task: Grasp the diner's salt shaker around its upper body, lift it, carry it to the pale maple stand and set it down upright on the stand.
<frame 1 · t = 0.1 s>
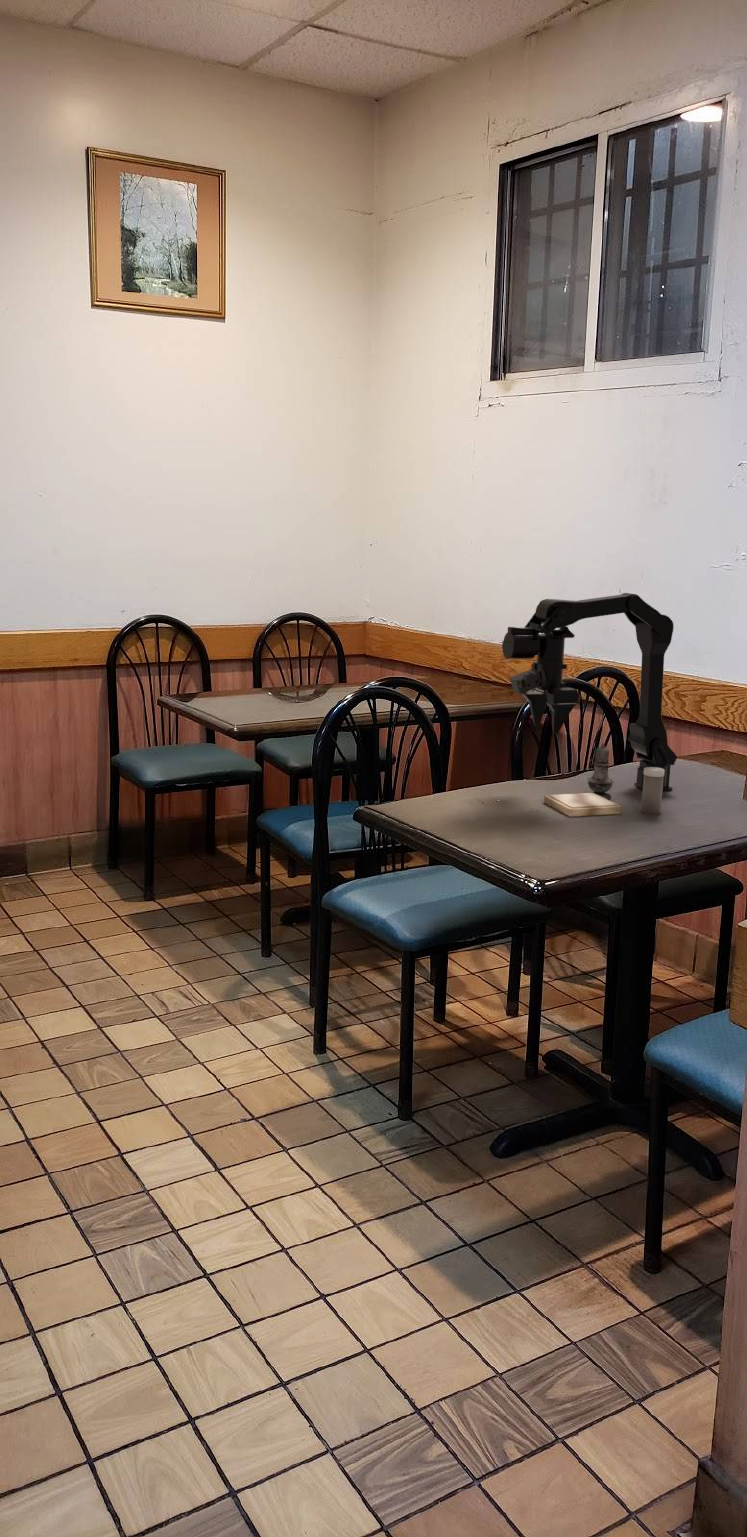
hand: (546, 729, 259), 15 cm above the table, fingers open, 9 cm apart
maple stand: (582, 807, 251), on the table
salt shaker: (599, 796, 262), on the table
pepper shaker: (650, 811, 249), on the table
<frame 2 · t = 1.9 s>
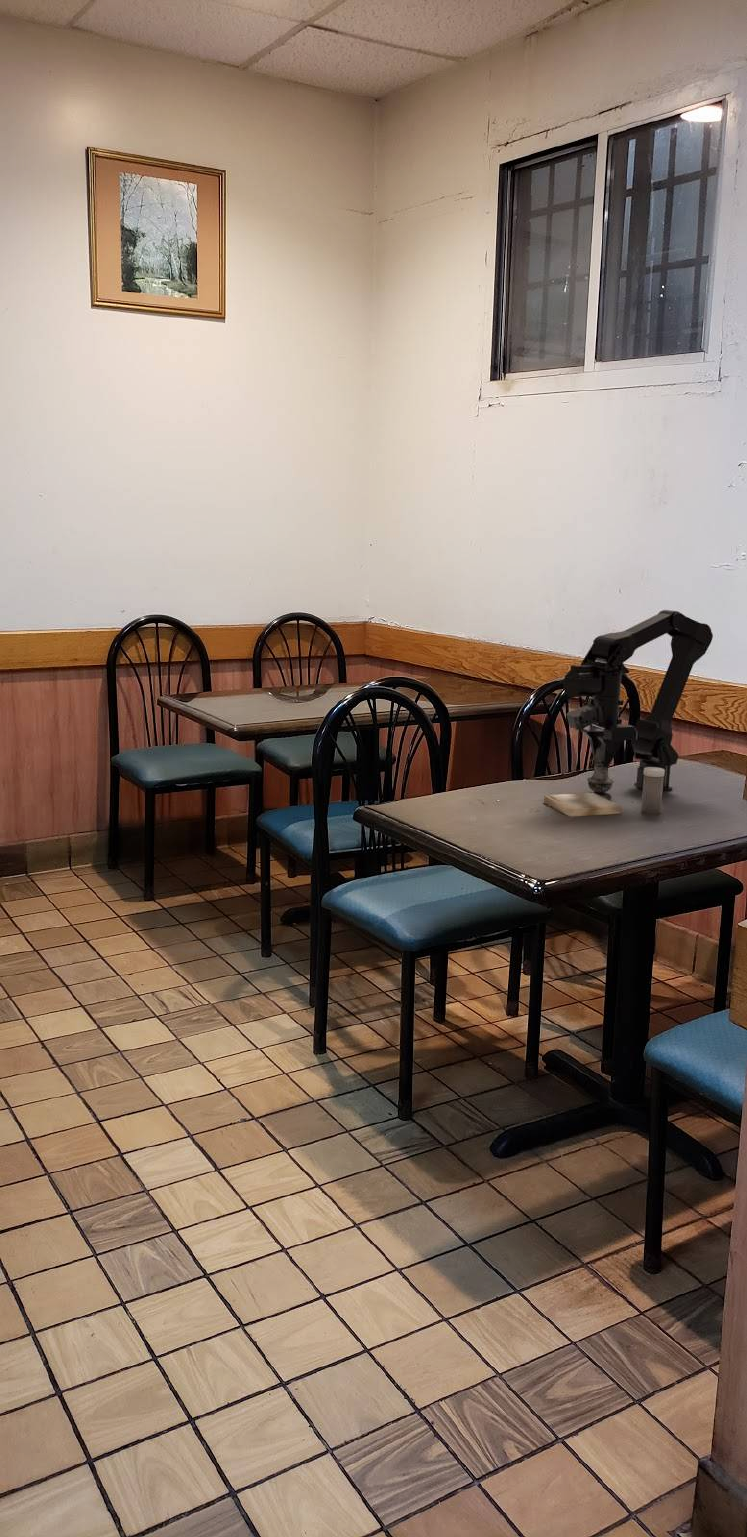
hand: (601, 764, 261), 7 cm above the table, fingers closed on salt shaker, 4 cm apart
salt shaker: (599, 796, 262), on the table, touching gripper
everything else where it was.
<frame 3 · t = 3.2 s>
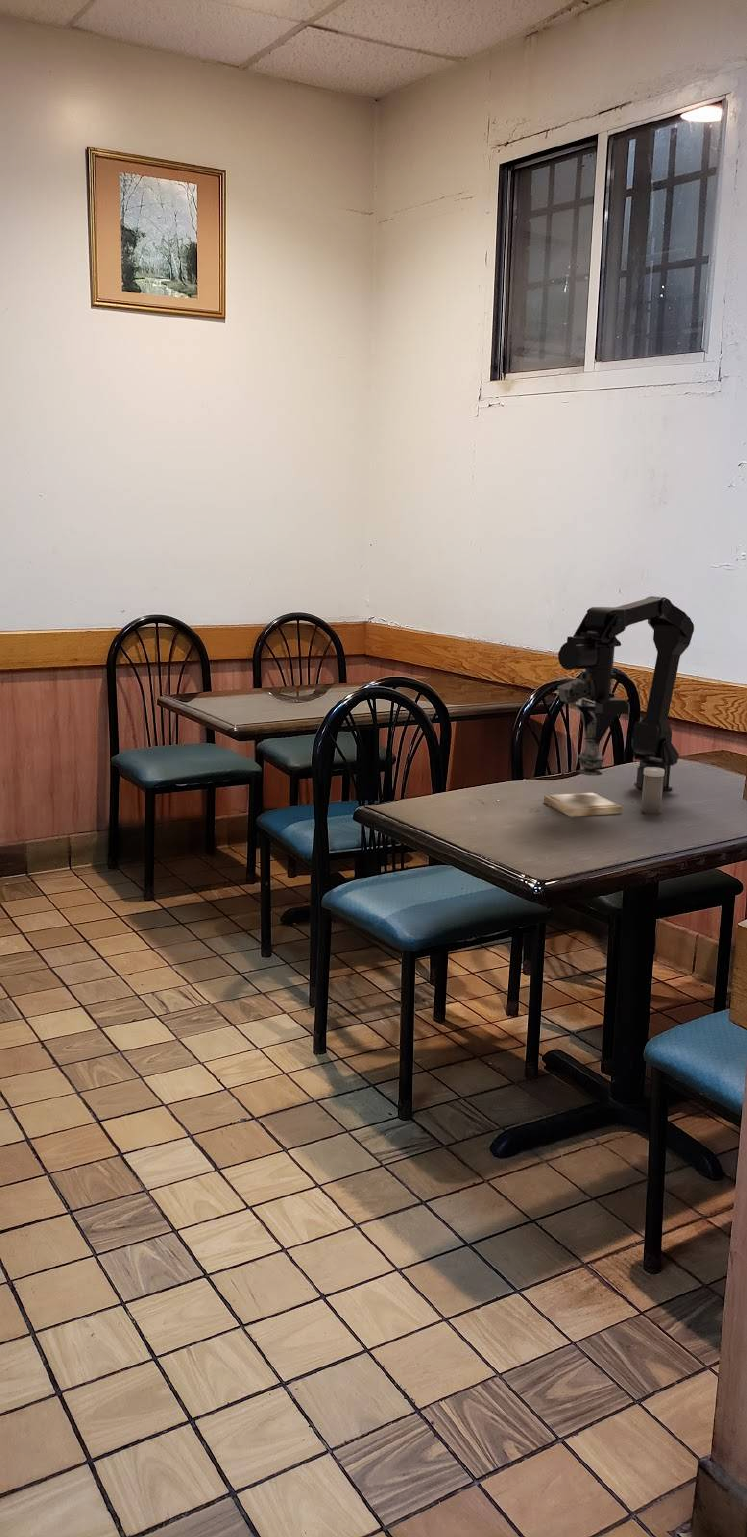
hand: (592, 740, 253), 14 cm above the table, fingers closed on salt shaker, 4 cm apart
salt shaker: (589, 773, 255), point 6 cm above the table, touching gripper
everything else where it was.
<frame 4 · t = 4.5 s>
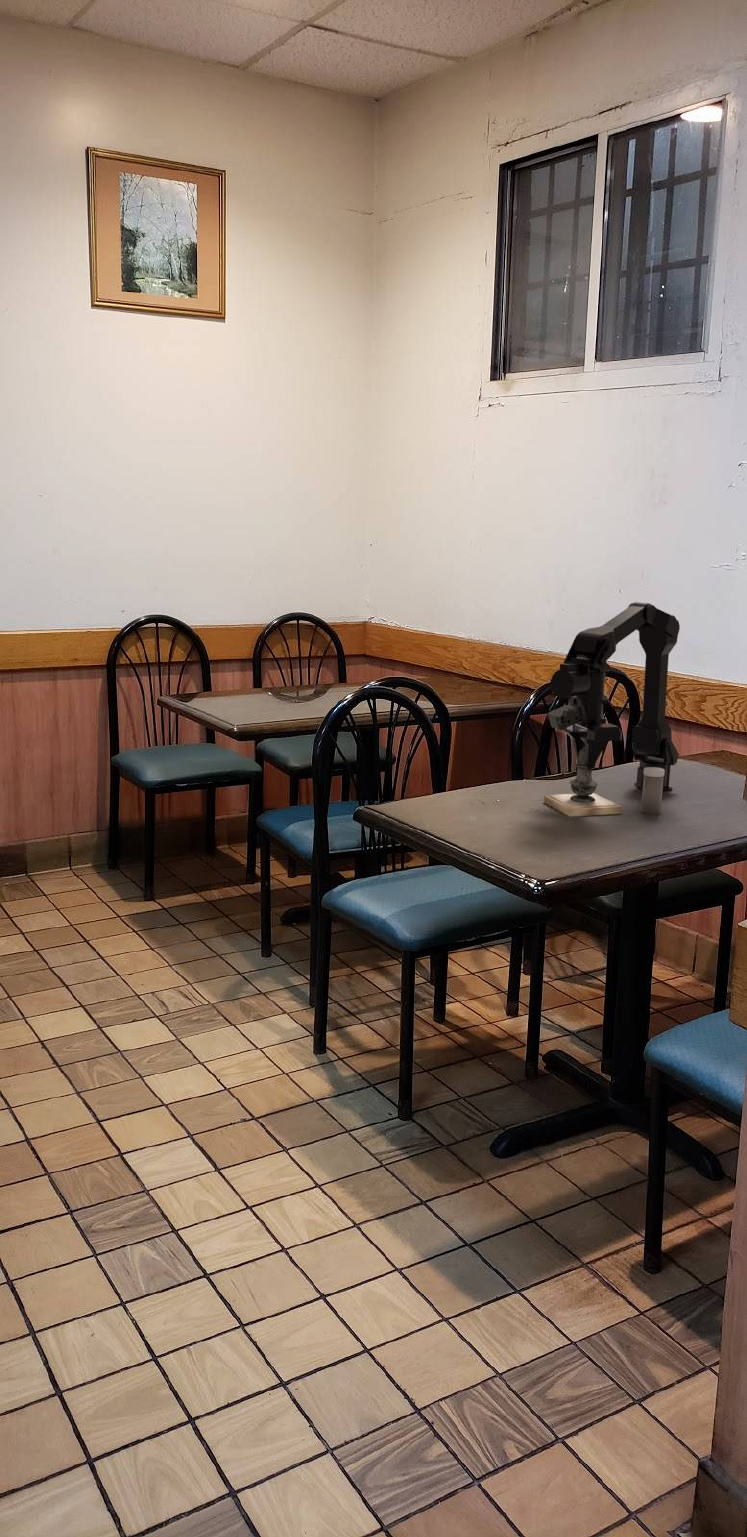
hand: (585, 766, 249), 9 cm above the table, fingers closed on salt shaker, 4 cm apart
salt shaker: (582, 800, 251), point 2 cm above the table, touching gripper
everything else where it was.
when the fingers open (9 cm above the table, at t = 4.5 s): salt shaker stays where it is, resting on maple stand.
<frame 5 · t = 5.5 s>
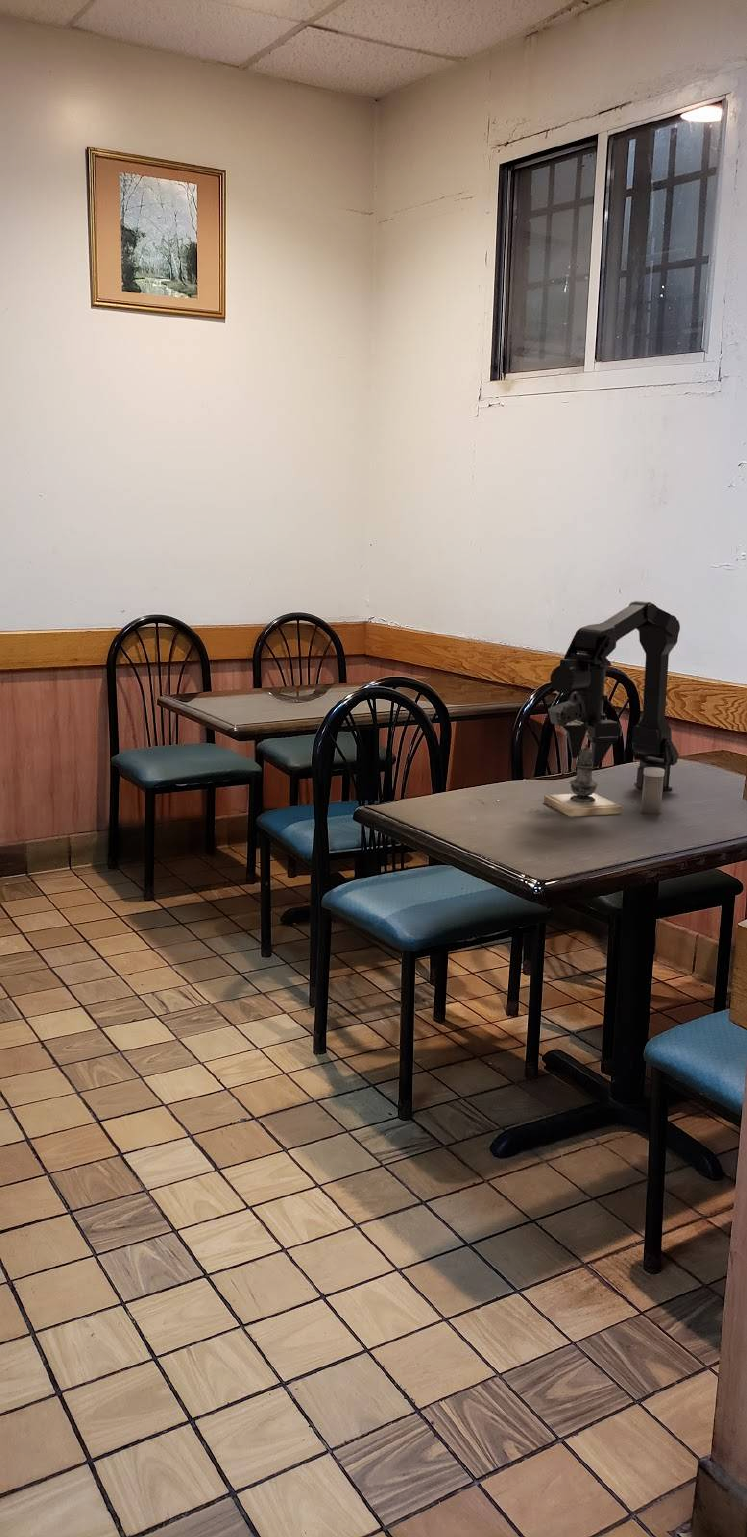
hand: (584, 762, 249), 10 cm above the table, fingers open, 9 cm apart
salt shaker: (582, 800, 251), point 2 cm above the table, touching maple stand
everything else where it was.
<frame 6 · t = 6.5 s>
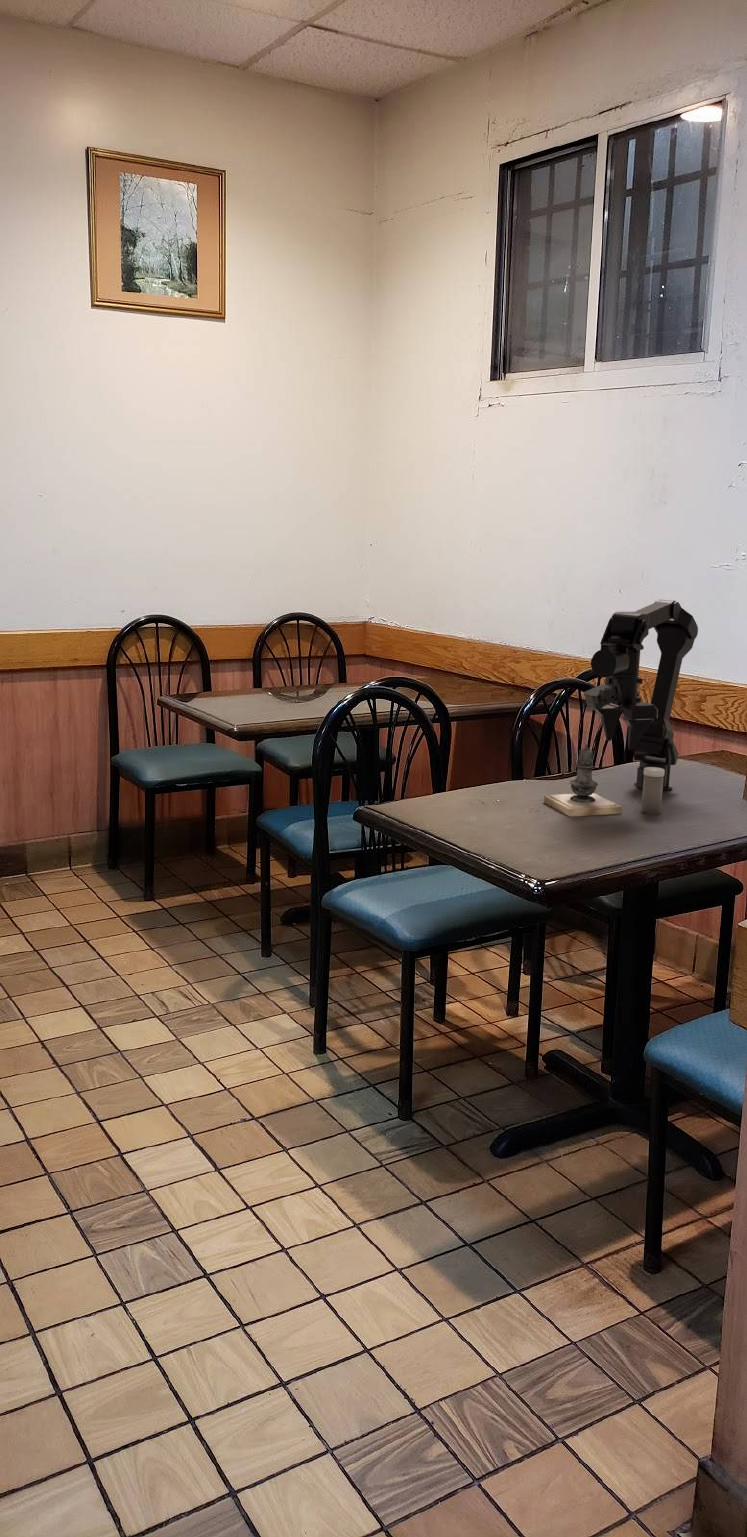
hand: (619, 744, 254), 13 cm above the table, fingers open, 9 cm apart
nothing on the table moved.
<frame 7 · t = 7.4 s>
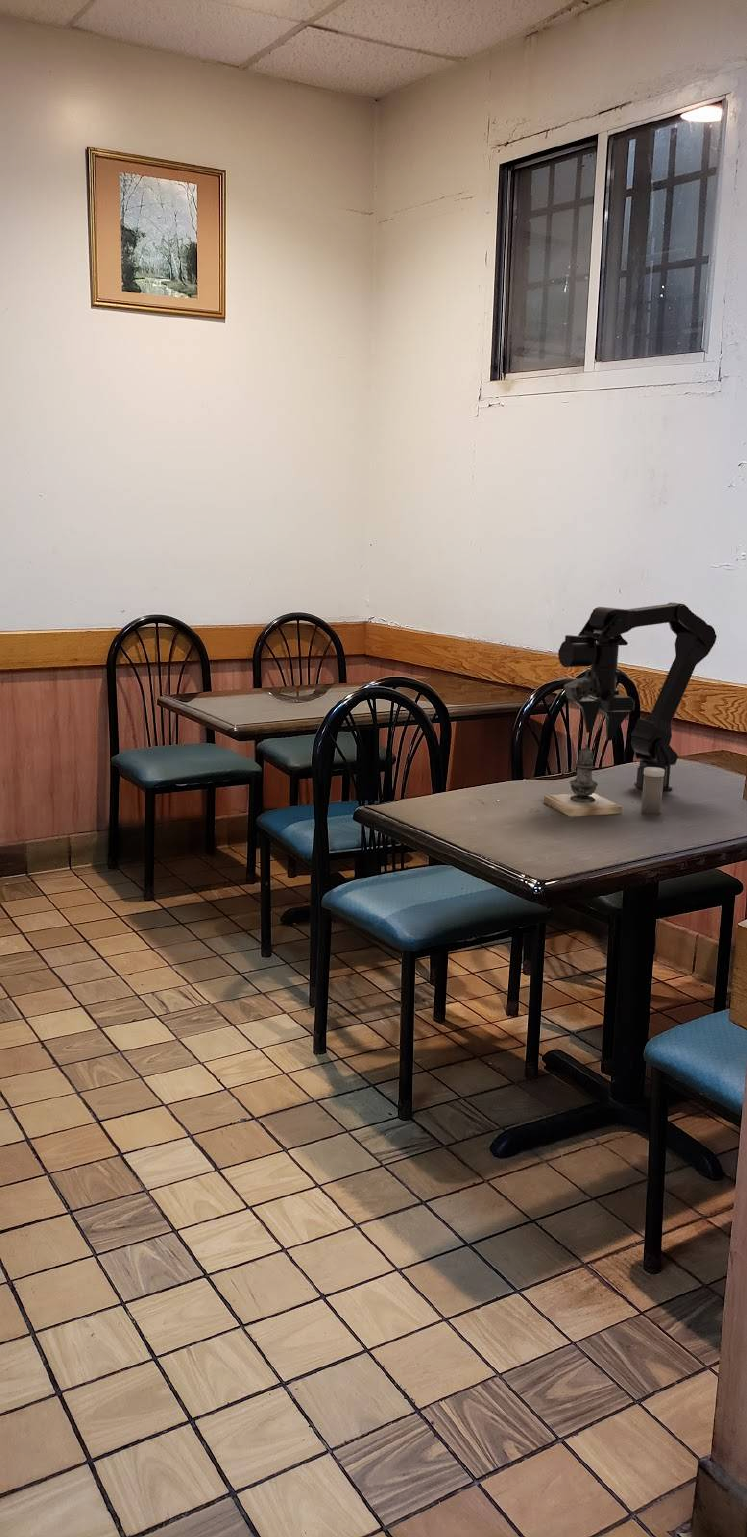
hand: (598, 736, 261), 13 cm above the table, fingers open, 9 cm apart
nothing on the table moved.
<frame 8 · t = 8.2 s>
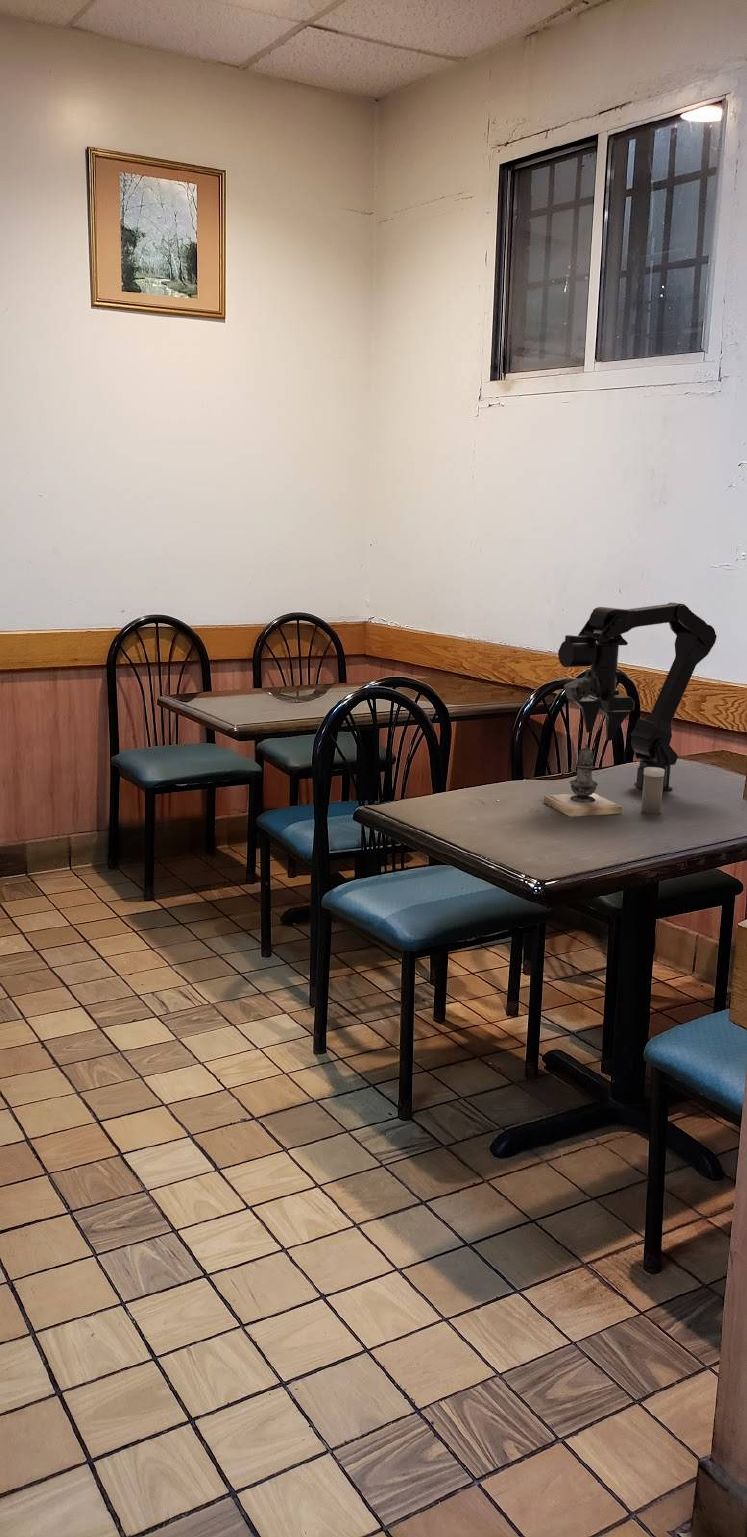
hand: (598, 736, 261), 13 cm above the table, fingers open, 9 cm apart
nothing on the table moved.
at the end: salt shaker inside the target area on the maple stand (0.1 cm from its centre), point 1.6 cm above the maple stand's base; salt shaker tilted 0°; the gripper is holding nothing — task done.
